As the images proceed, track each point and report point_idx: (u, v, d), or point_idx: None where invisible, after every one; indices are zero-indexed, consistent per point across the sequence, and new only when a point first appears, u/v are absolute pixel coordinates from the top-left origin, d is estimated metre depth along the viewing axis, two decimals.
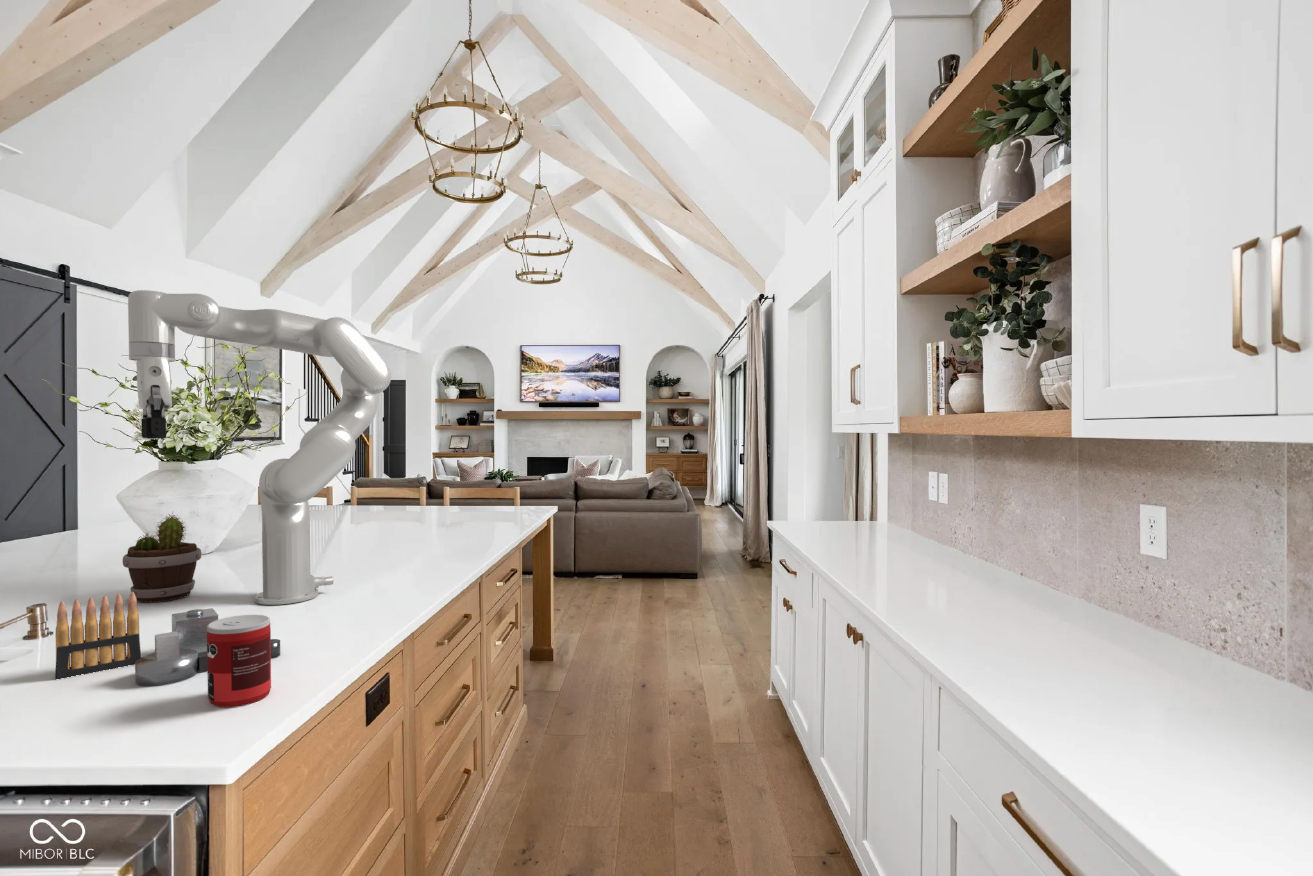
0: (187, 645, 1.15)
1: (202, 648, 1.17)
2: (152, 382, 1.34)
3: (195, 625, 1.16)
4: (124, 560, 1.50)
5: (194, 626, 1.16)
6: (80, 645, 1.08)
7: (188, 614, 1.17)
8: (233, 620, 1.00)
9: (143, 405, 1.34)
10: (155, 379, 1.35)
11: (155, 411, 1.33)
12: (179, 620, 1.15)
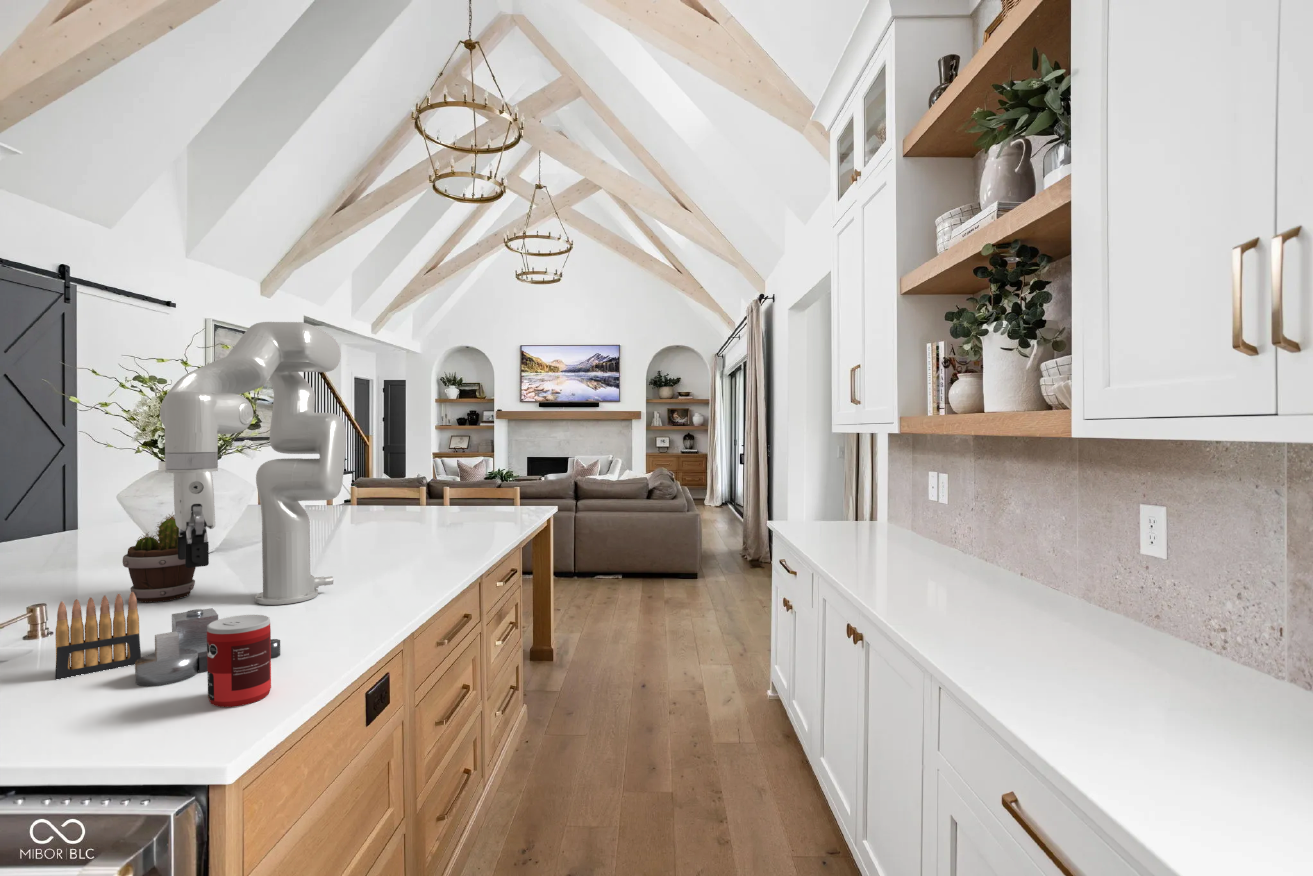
0: (187, 645, 1.15)
1: (202, 648, 1.17)
2: (193, 500, 1.14)
3: (195, 625, 1.16)
4: (124, 560, 1.50)
5: (194, 626, 1.16)
6: (80, 645, 1.08)
7: (188, 614, 1.17)
8: (233, 620, 1.00)
9: (182, 528, 1.14)
10: (196, 497, 1.14)
11: (197, 536, 1.13)
12: (179, 620, 1.15)
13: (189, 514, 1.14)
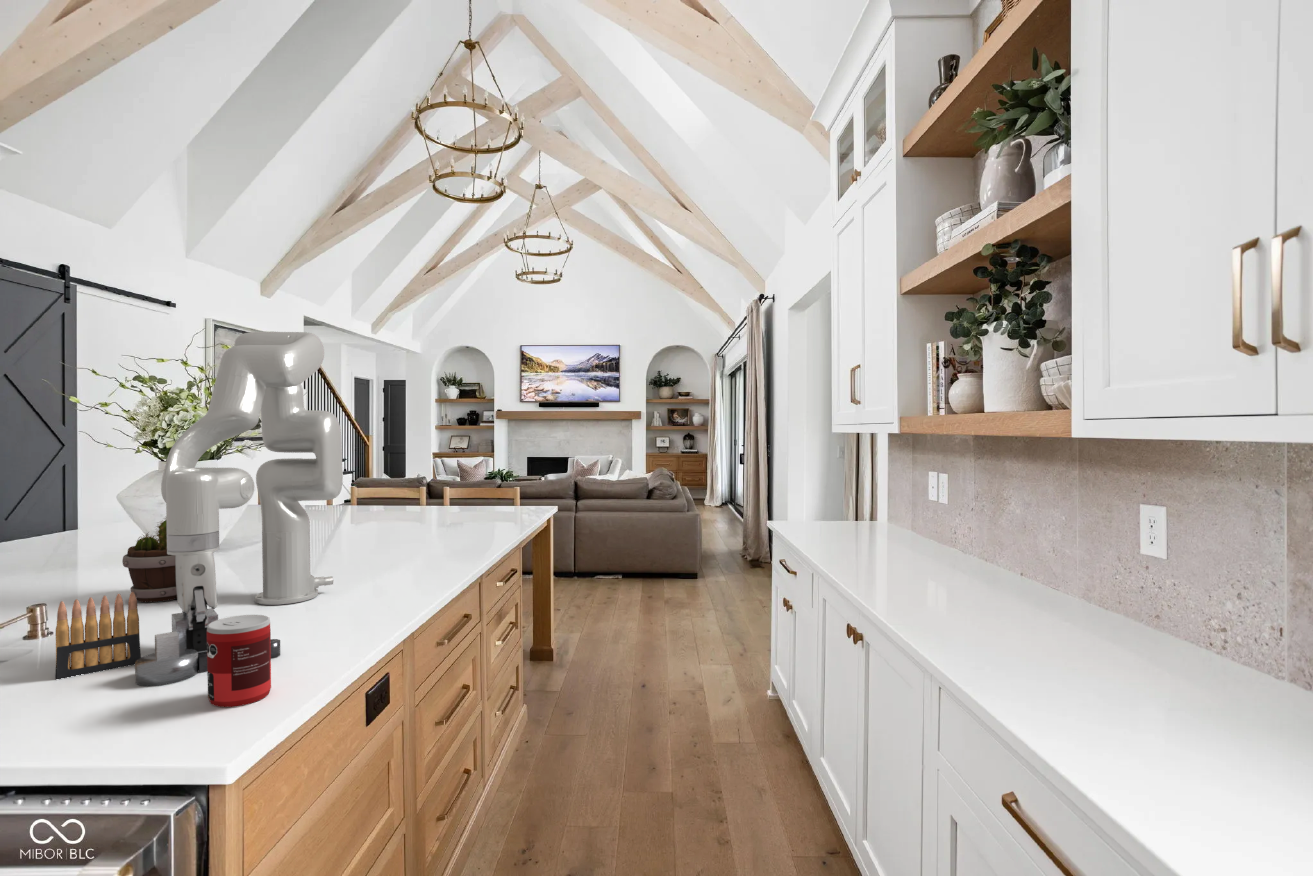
0: None
1: None
2: (195, 583, 1.14)
3: None
4: (124, 560, 1.50)
5: None
6: (80, 645, 1.08)
7: None
8: (233, 620, 1.00)
9: (184, 611, 1.14)
10: (198, 579, 1.15)
11: (198, 623, 1.15)
12: (179, 620, 1.15)
13: (191, 597, 1.14)
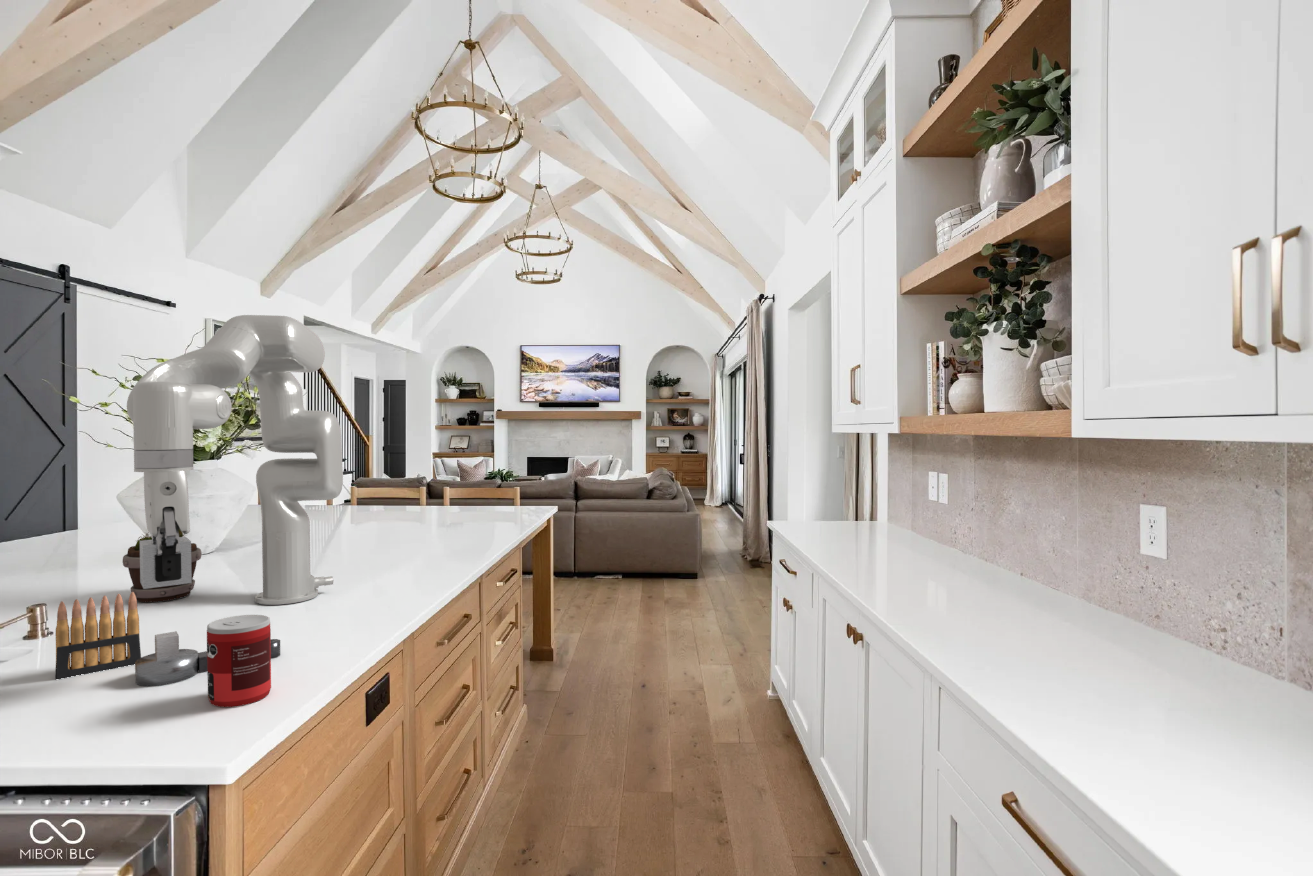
0: None
1: None
2: (165, 503, 1.03)
3: None
4: (124, 560, 1.50)
5: None
6: (80, 645, 1.08)
7: None
8: (233, 620, 1.00)
9: (153, 534, 1.03)
10: (168, 499, 1.03)
11: (167, 547, 1.03)
12: (147, 545, 1.03)
13: (160, 518, 1.02)
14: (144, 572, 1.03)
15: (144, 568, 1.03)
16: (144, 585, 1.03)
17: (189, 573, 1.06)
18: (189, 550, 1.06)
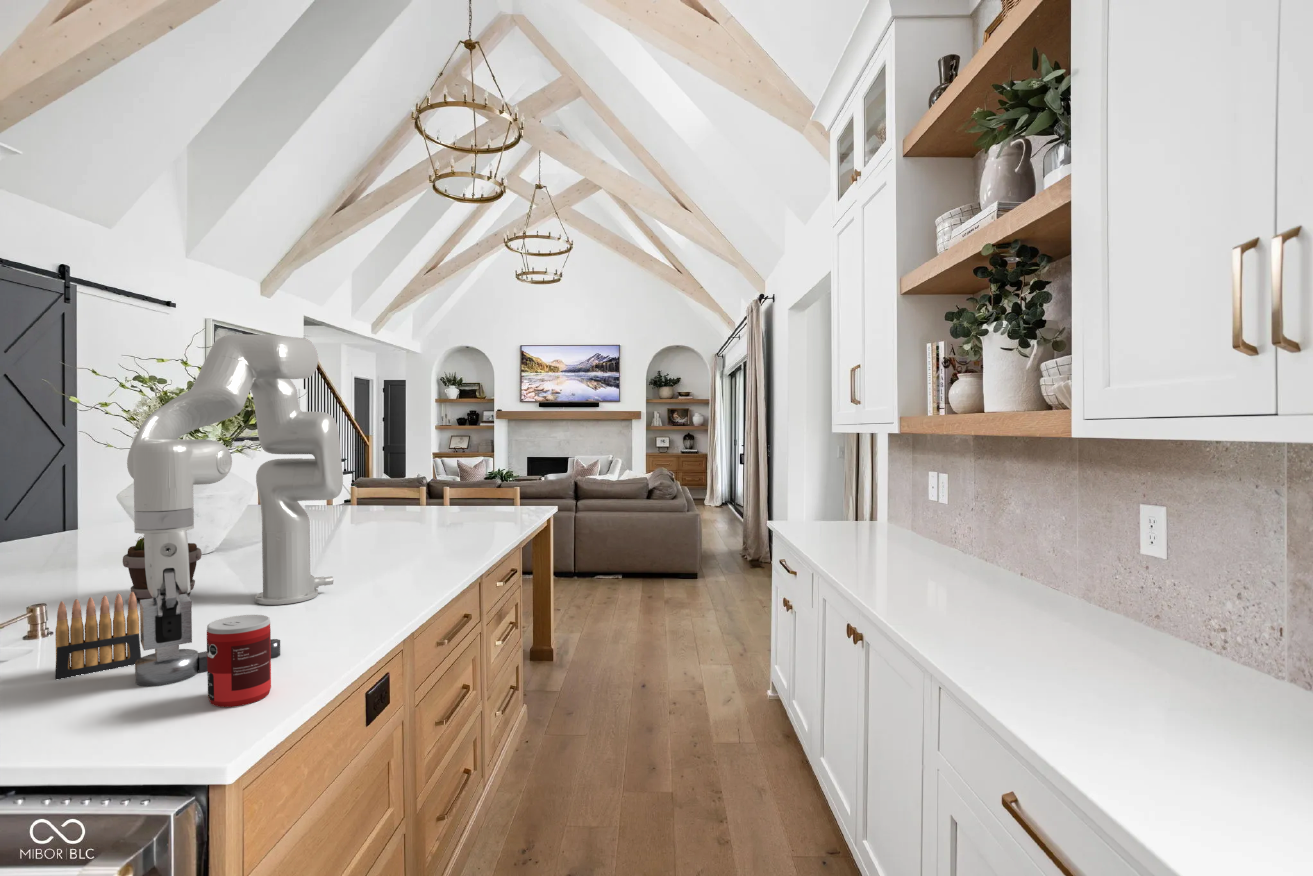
0: None
1: None
2: (165, 564, 1.03)
3: None
4: (124, 560, 1.50)
5: None
6: (80, 645, 1.08)
7: None
8: (233, 620, 1.00)
9: (153, 595, 1.02)
10: (169, 560, 1.03)
11: (168, 609, 1.03)
12: (147, 606, 1.03)
13: (160, 580, 1.02)
14: (144, 634, 1.03)
15: (144, 630, 1.03)
16: (144, 647, 1.03)
17: (189, 633, 1.06)
18: (189, 610, 1.06)
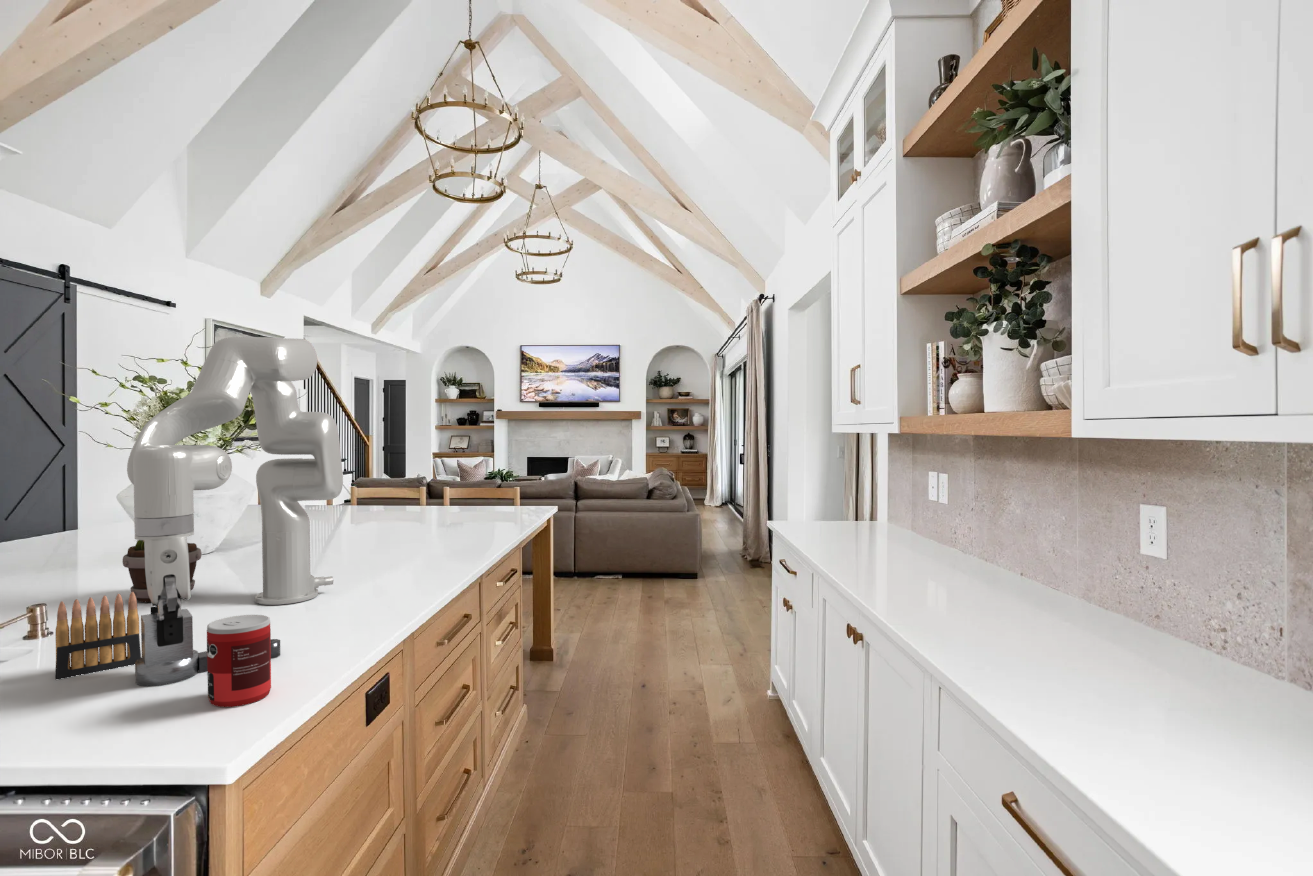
0: (157, 649, 1.04)
1: (174, 653, 1.05)
2: (165, 571, 1.03)
3: None
4: (124, 560, 1.50)
5: None
6: (80, 645, 1.08)
7: None
8: (233, 620, 1.00)
9: (153, 602, 1.03)
10: (169, 567, 1.03)
11: (169, 612, 1.02)
12: (148, 622, 1.04)
13: (161, 586, 1.02)
14: (146, 650, 1.03)
15: (146, 646, 1.03)
16: (146, 663, 1.03)
17: (190, 648, 1.07)
18: (190, 625, 1.07)
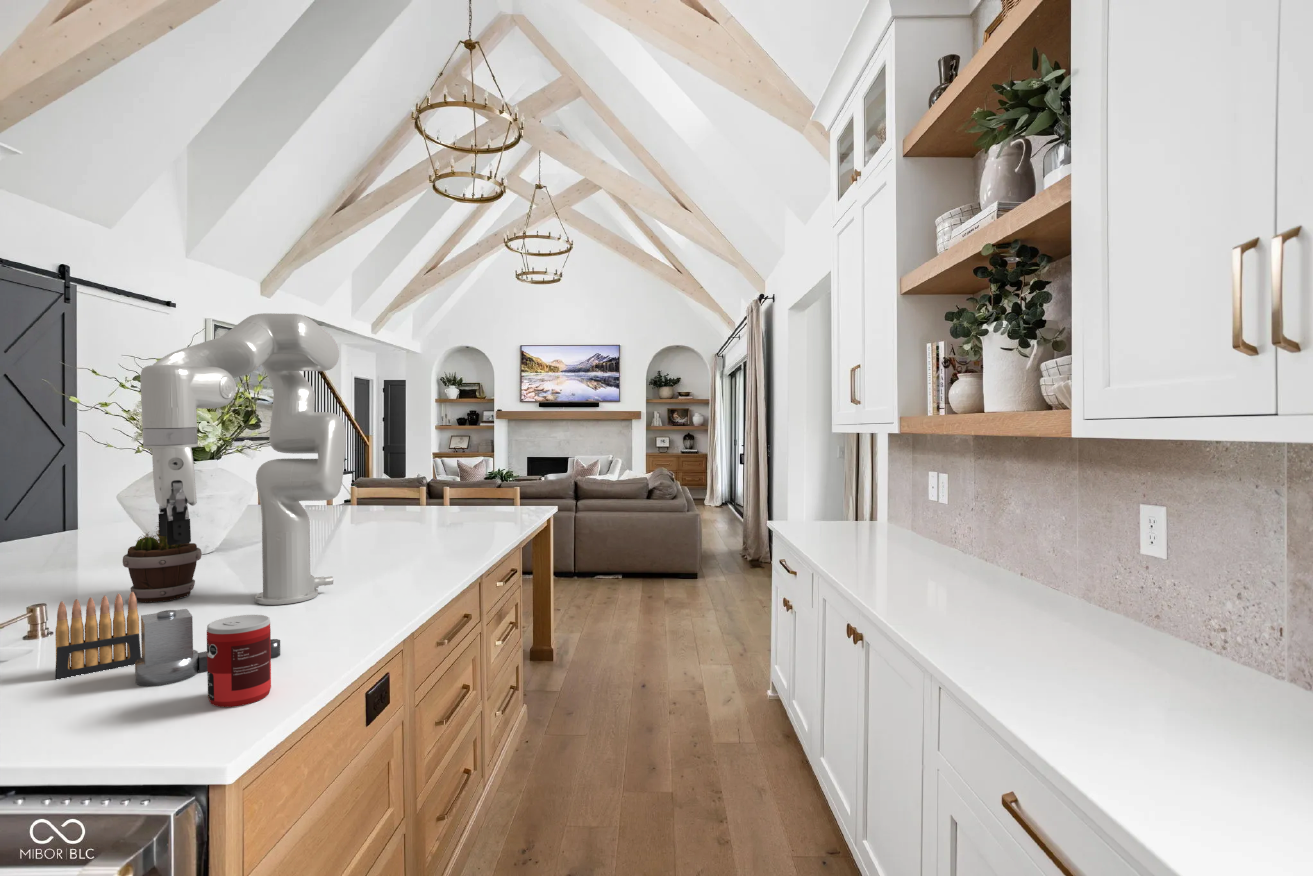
0: (157, 649, 1.04)
1: (174, 653, 1.05)
2: (173, 477, 1.12)
3: (166, 627, 1.05)
4: (124, 560, 1.50)
5: (165, 629, 1.05)
6: (80, 645, 1.08)
7: (159, 615, 1.06)
8: (233, 620, 1.00)
9: (163, 505, 1.12)
10: (176, 473, 1.12)
11: (178, 513, 1.11)
12: (148, 622, 1.04)
13: (169, 491, 1.11)
14: (146, 650, 1.03)
15: (146, 646, 1.03)
16: (146, 663, 1.03)
17: (190, 648, 1.07)
18: (190, 625, 1.07)
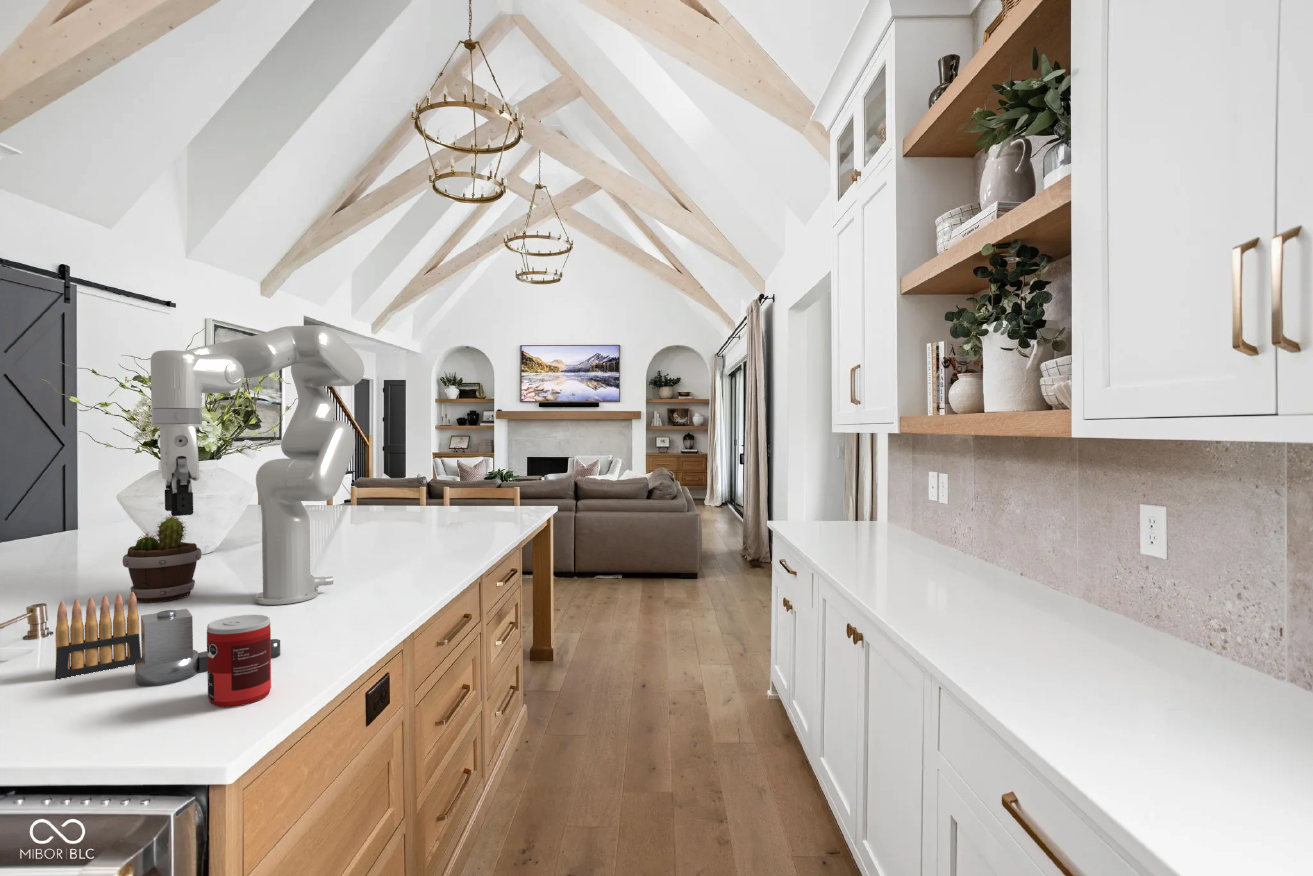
0: (157, 649, 1.04)
1: (174, 653, 1.05)
2: (178, 453, 1.21)
3: (166, 627, 1.05)
4: (124, 560, 1.50)
5: (165, 629, 1.05)
6: (80, 645, 1.08)
7: (159, 615, 1.06)
8: (233, 620, 1.00)
9: (168, 479, 1.21)
10: (181, 449, 1.21)
11: (181, 486, 1.20)
12: (148, 622, 1.04)
13: (174, 465, 1.21)
14: (146, 650, 1.03)
15: (146, 646, 1.03)
16: (146, 663, 1.03)
17: (190, 648, 1.07)
18: (190, 625, 1.07)
